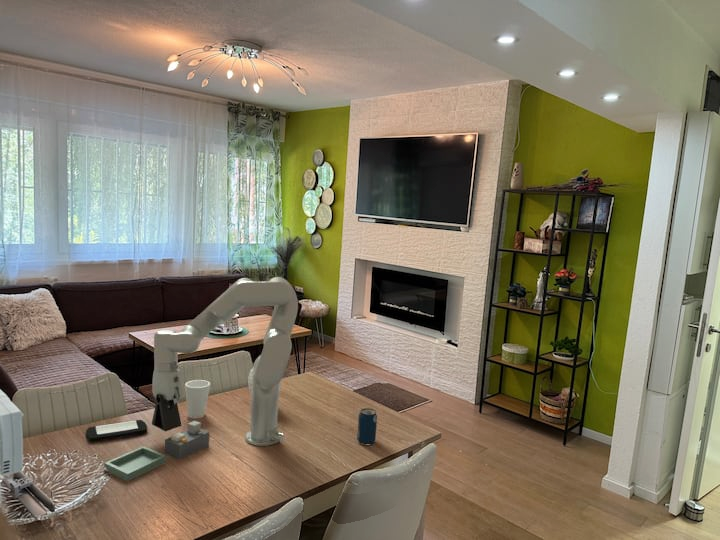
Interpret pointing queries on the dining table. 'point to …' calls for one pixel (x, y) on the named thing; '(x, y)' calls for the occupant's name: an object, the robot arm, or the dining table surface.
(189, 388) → the foam cup
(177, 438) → the block
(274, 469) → the dining table surface
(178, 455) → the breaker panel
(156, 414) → the phone stand
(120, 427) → the light switch
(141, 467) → the tray
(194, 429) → the block
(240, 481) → the dining table surface
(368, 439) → the soda can
